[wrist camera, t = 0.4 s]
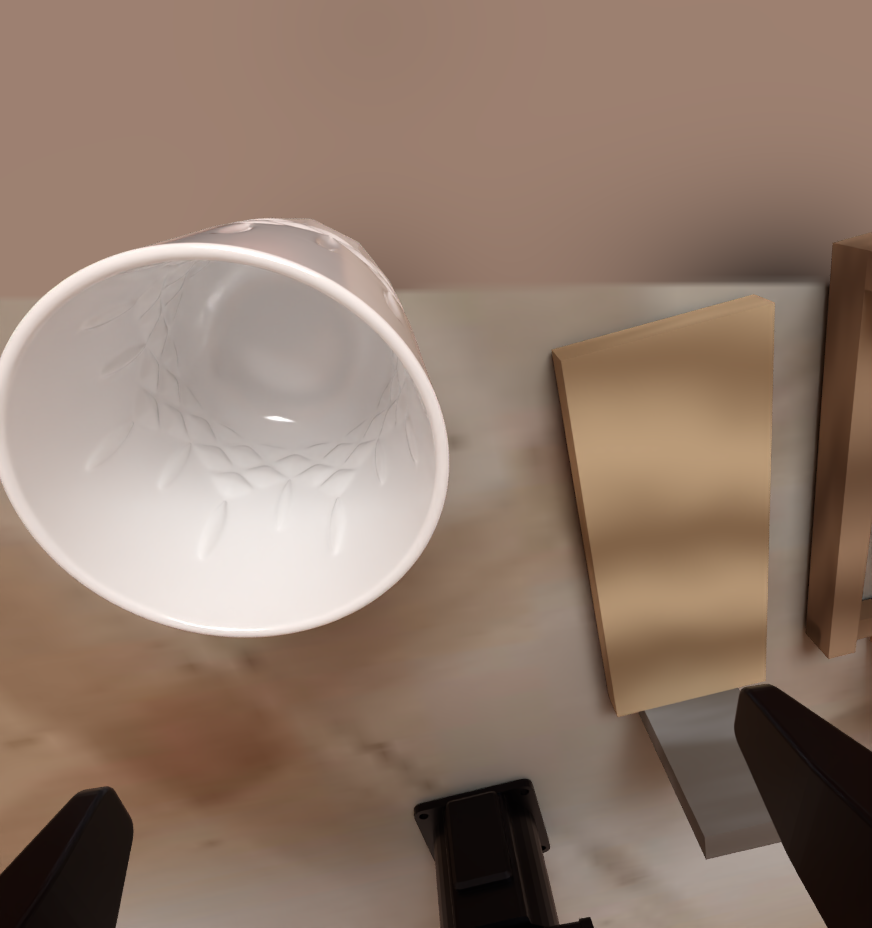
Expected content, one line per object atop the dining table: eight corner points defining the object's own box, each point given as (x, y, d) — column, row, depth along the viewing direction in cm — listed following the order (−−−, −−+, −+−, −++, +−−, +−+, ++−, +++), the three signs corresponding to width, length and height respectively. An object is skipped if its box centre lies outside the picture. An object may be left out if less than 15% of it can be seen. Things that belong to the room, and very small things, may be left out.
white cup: (417, 196, 18) (457, 244, 9) (417, 433, 22) (444, 630, 13) (147, 193, 17) (-93, 241, 8) (194, 438, 21) (62, 649, 12)
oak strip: (750, 683, 29) (850, 825, 23) (612, 717, 30) (673, 866, 23) (753, 294, 20) (920, 360, 14) (551, 349, 20) (626, 437, 14)
